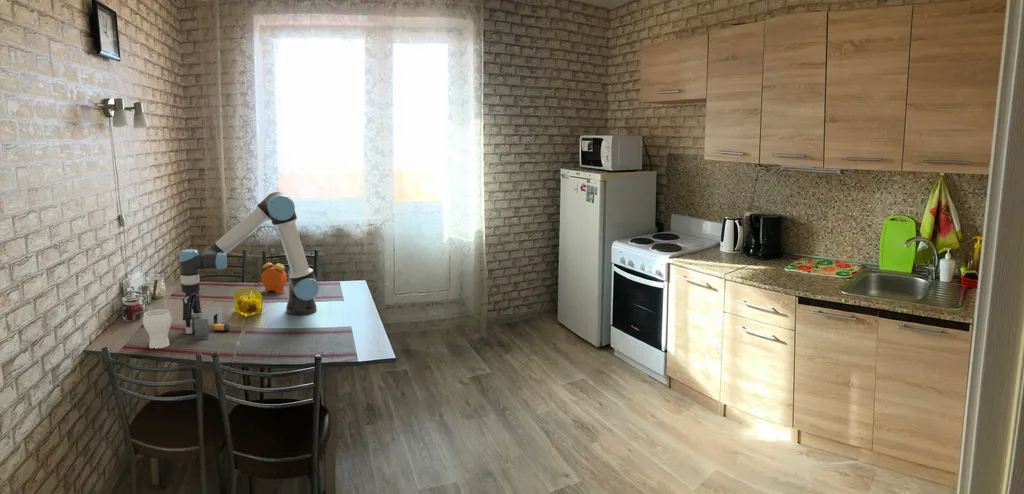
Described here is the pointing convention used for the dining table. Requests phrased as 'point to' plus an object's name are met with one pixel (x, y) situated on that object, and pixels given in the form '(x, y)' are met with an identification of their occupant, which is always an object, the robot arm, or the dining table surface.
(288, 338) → the dining table surface
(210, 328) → the housing
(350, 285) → the dining table surface
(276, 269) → the alarm clock
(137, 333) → the dining table surface
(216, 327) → the hammer
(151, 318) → the cup
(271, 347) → the dining table surface
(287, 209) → the robot arm
